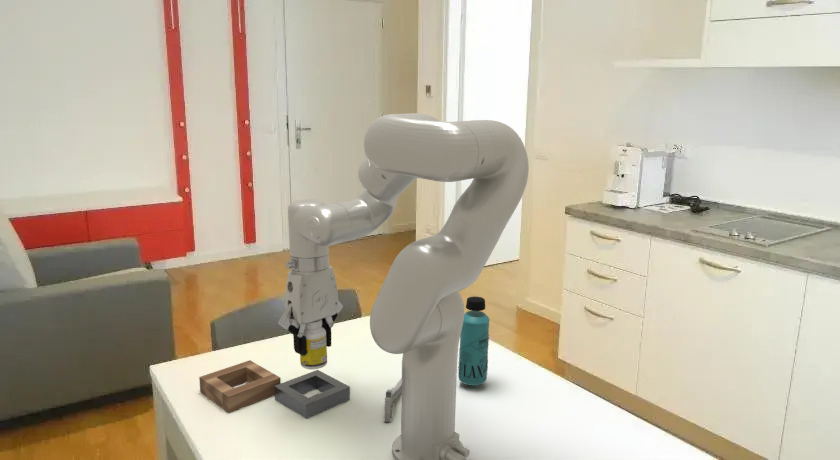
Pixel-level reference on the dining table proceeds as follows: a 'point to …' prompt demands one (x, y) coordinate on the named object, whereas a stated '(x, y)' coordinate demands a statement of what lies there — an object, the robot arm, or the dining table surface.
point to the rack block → (233, 399)
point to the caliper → (391, 400)
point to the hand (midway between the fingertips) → (313, 348)
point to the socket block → (308, 407)
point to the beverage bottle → (474, 343)
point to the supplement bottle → (314, 346)
